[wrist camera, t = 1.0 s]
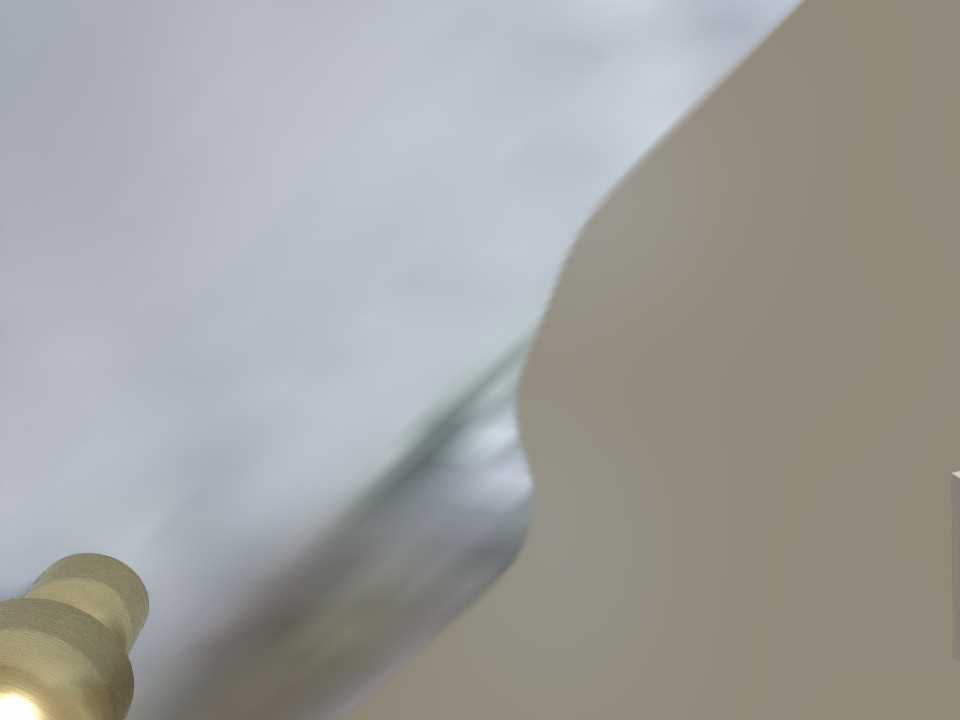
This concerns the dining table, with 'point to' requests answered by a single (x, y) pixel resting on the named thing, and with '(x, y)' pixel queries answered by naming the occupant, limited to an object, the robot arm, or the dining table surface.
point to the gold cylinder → (72, 642)
